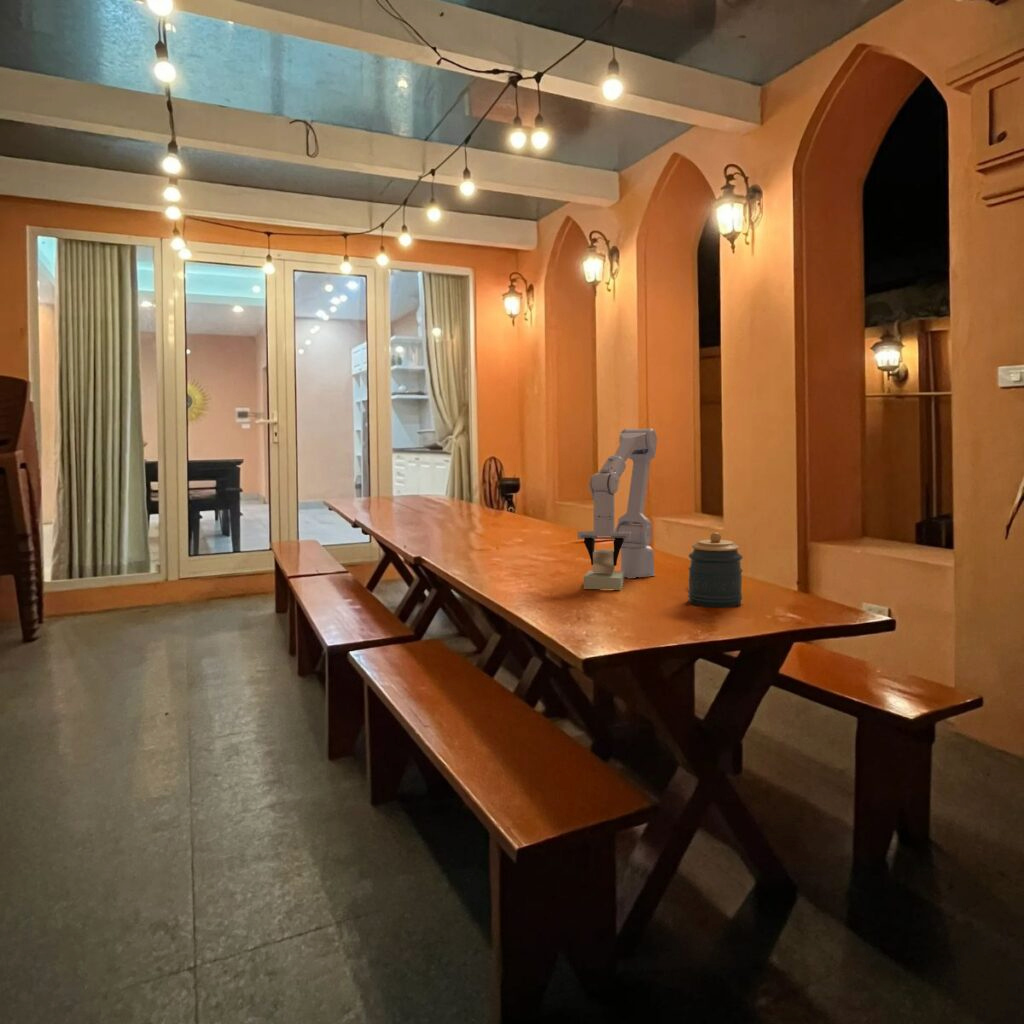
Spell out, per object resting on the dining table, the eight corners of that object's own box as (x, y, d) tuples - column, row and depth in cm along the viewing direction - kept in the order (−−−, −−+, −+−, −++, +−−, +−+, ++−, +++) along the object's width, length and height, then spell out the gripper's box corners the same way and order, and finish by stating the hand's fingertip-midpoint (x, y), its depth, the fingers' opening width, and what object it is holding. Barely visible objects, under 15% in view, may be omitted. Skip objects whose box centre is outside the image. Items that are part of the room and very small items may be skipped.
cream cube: (614, 569, 205) (614, 549, 205) (613, 572, 200) (613, 552, 199) (595, 568, 206) (595, 549, 206) (593, 572, 201) (592, 552, 201)
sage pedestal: (623, 583, 207) (623, 571, 207) (620, 590, 198) (620, 578, 197) (588, 582, 210) (588, 570, 209) (583, 589, 200) (583, 576, 200)
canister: (677, 599, 186) (678, 531, 184) (720, 595, 190) (721, 528, 188) (708, 610, 173) (709, 537, 172) (753, 605, 178) (754, 533, 176)
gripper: (575, 517, 199) (576, 566, 201) (629, 518, 196) (629, 568, 197) (579, 514, 206) (579, 562, 208) (631, 515, 203) (631, 563, 204)
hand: (604, 564), depth 203 cm, fingers closed on cream cube, 5 cm apart
